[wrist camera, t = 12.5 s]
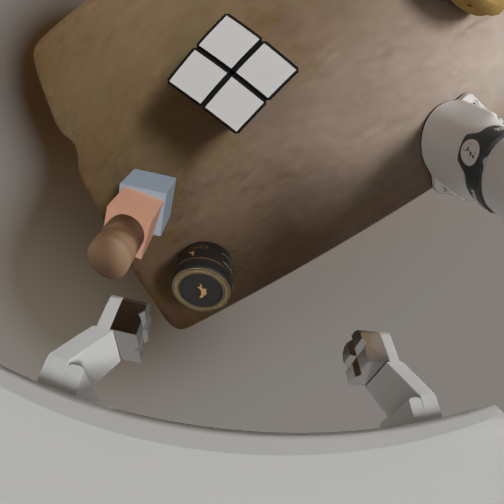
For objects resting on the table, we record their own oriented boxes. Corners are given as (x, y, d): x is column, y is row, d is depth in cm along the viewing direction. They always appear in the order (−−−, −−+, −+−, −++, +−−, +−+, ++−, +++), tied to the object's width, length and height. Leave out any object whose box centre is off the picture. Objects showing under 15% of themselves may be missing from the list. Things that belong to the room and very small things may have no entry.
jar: (220, 230, 48) (215, 258, 42) (243, 274, 54) (242, 305, 48) (169, 248, 51) (158, 276, 44) (195, 288, 56) (188, 318, 50)
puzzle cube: (241, 120, 38) (237, 136, 30) (185, 78, 34) (164, 82, 26) (290, 69, 34) (301, 69, 25) (233, 25, 30) (226, 11, 22)
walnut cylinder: (146, 220, 34) (130, 246, 29) (141, 254, 36) (127, 284, 31) (108, 209, 33) (87, 233, 28) (106, 244, 35) (87, 271, 30)
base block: (176, 177, 43) (166, 193, 38) (170, 216, 47) (160, 236, 42) (134, 168, 42) (119, 183, 37) (130, 207, 46) (117, 225, 41)
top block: (163, 200, 39) (151, 222, 34) (153, 234, 42) (140, 259, 37) (125, 186, 37) (107, 205, 32) (117, 220, 40) (101, 243, 36)
